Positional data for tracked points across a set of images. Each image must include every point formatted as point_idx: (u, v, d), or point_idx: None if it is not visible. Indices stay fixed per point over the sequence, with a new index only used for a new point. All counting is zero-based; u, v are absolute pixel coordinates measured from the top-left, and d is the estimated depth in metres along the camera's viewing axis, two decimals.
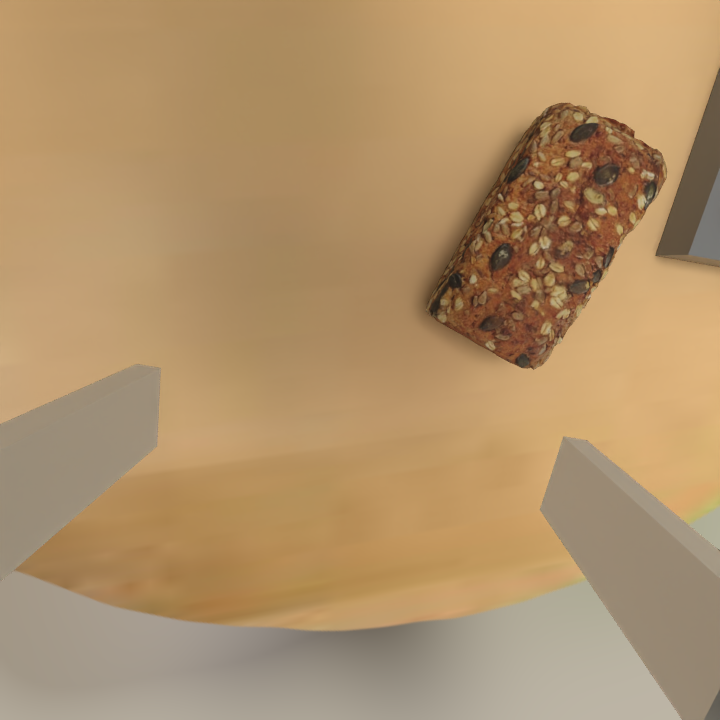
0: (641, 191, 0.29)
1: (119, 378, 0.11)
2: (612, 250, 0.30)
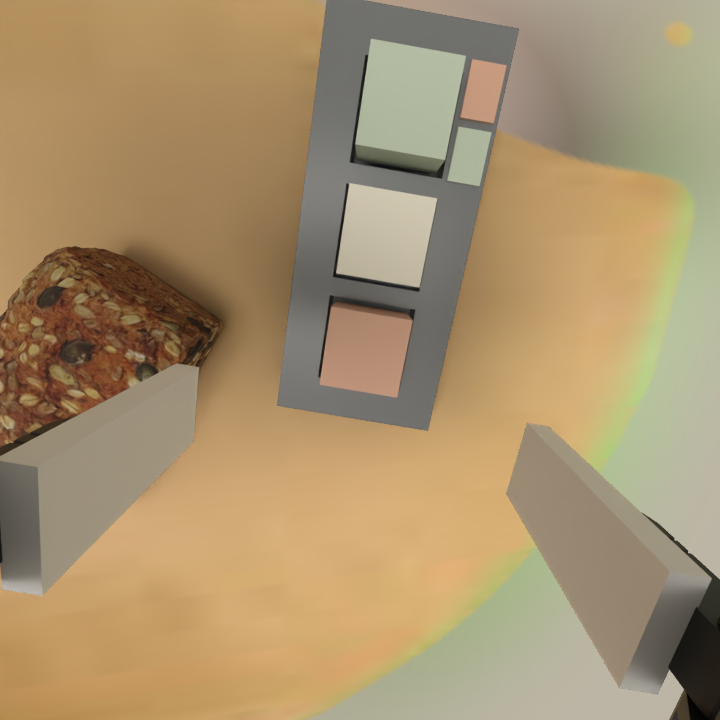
0: (133, 372, 0.23)
1: (164, 376, 0.12)
2: None
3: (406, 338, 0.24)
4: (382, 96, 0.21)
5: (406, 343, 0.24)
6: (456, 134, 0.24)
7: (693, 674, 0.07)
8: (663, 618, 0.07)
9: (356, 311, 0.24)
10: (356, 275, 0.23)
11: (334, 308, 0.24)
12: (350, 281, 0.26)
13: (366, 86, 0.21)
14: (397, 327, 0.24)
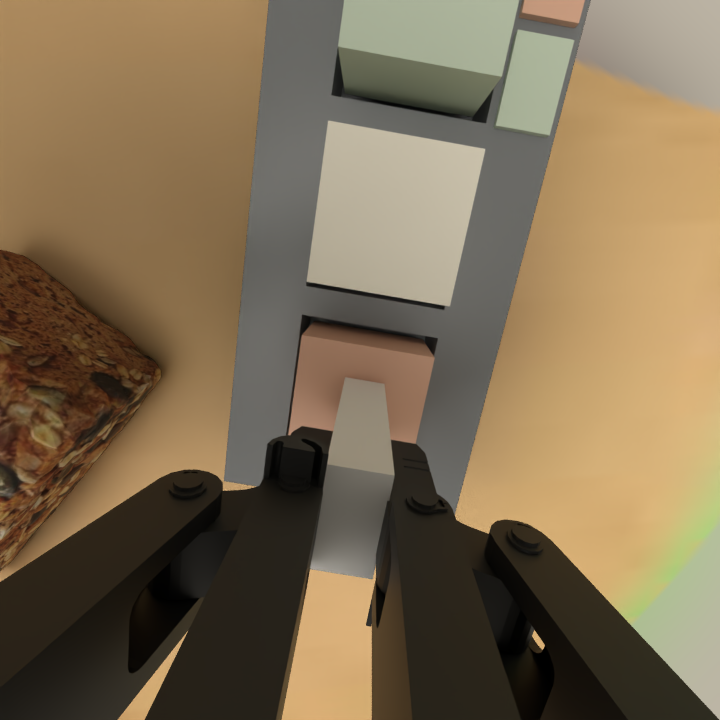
0: None
1: (351, 390, 0.13)
2: None
3: (424, 385, 0.15)
4: None
5: (424, 393, 0.15)
6: (514, 43, 0.14)
7: (377, 566, 0.08)
8: (363, 511, 0.09)
9: (343, 342, 0.15)
10: (341, 285, 0.14)
11: (307, 337, 0.15)
12: (334, 293, 0.16)
13: None
14: (410, 368, 0.15)
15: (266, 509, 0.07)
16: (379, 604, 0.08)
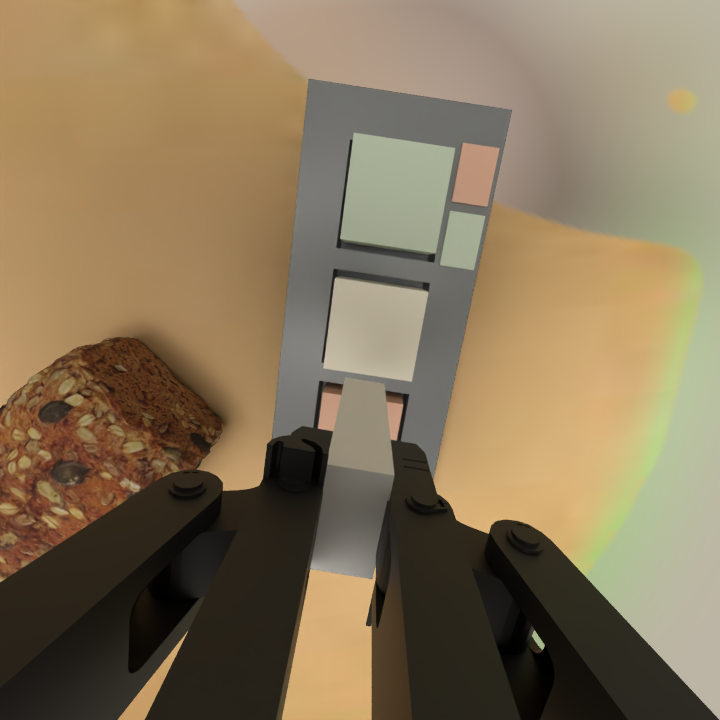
0: (124, 499, 0.22)
1: (351, 390, 0.13)
2: None
3: (397, 421, 0.25)
4: (367, 190, 0.20)
5: (397, 425, 0.25)
6: (448, 218, 0.22)
7: (377, 566, 0.08)
8: (363, 511, 0.09)
9: None
10: (344, 370, 0.22)
11: (326, 393, 0.24)
12: None
13: (350, 180, 0.20)
14: (388, 410, 0.24)
15: (266, 509, 0.07)
16: (379, 604, 0.08)
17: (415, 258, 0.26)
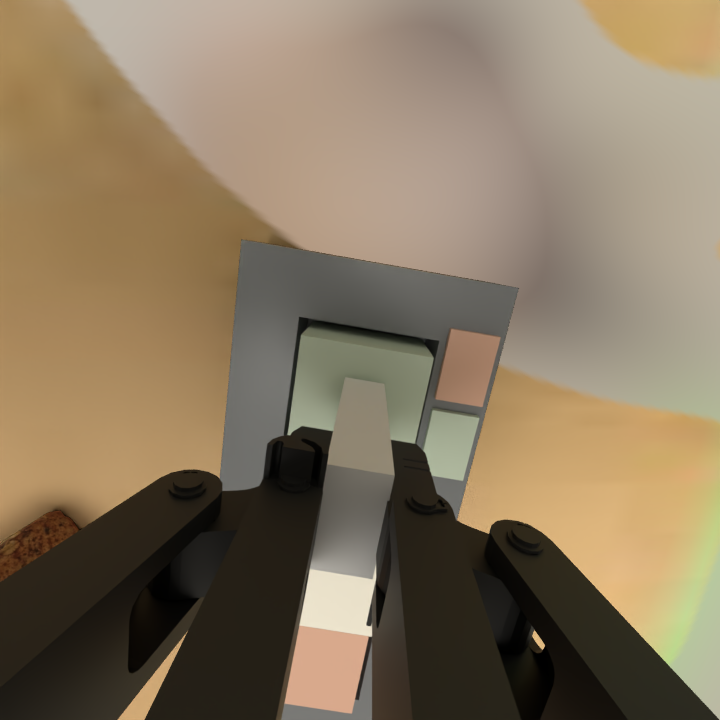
0: None
1: (351, 390, 0.13)
2: None
3: (361, 654, 0.19)
4: (319, 402, 0.15)
5: (361, 659, 0.19)
6: (430, 418, 0.17)
7: (377, 566, 0.08)
8: (364, 511, 0.09)
9: None
10: None
11: None
12: None
13: (297, 391, 0.15)
14: (349, 642, 0.19)
15: (266, 509, 0.07)
16: (379, 604, 0.08)
17: None
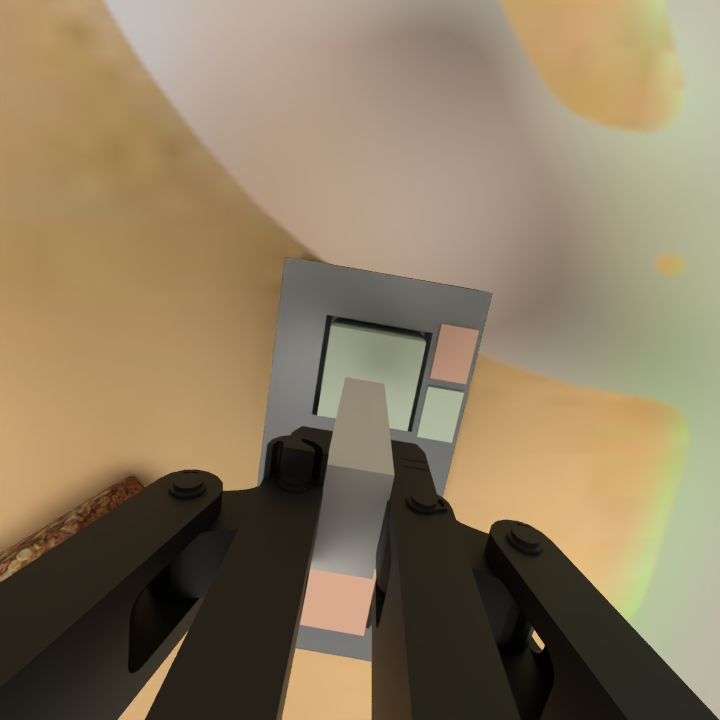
0: None
1: (351, 390, 0.13)
2: None
3: (372, 584, 0.24)
4: (343, 375, 0.21)
5: (372, 588, 0.24)
6: (426, 393, 0.22)
7: (377, 566, 0.08)
8: (363, 511, 0.09)
9: None
10: None
11: None
12: None
13: (327, 366, 0.21)
14: None
15: (266, 509, 0.07)
16: (379, 604, 0.08)
17: None
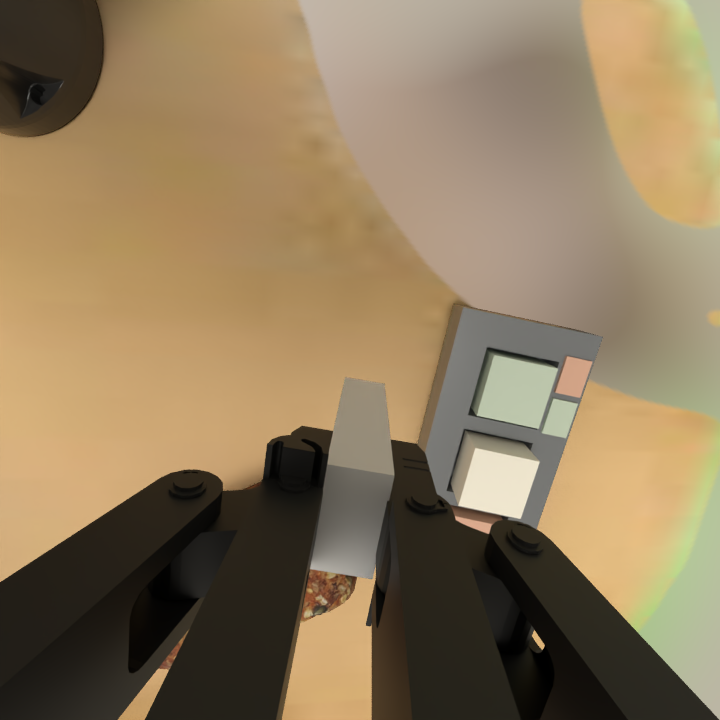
0: (312, 607, 0.31)
1: (351, 390, 0.13)
2: None
3: None
4: (498, 388, 0.31)
5: None
6: (551, 403, 0.32)
7: (377, 566, 0.08)
8: (364, 511, 0.09)
9: (465, 518, 0.33)
10: (473, 508, 0.31)
11: None
12: None
13: (488, 382, 0.31)
14: None
15: (266, 509, 0.07)
16: (379, 604, 0.08)
17: None
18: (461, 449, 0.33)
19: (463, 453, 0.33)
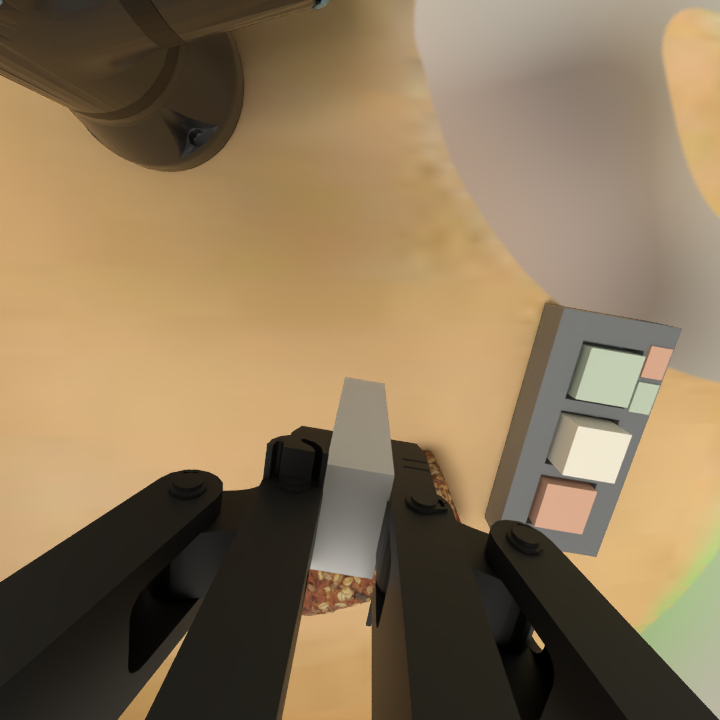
0: None
1: (351, 390, 0.13)
2: None
3: (592, 501, 0.40)
4: (594, 375, 0.36)
5: (591, 504, 0.40)
6: (637, 385, 0.37)
7: (377, 566, 0.08)
8: (363, 511, 0.09)
9: (562, 485, 0.39)
10: (575, 476, 0.37)
11: (549, 484, 0.39)
12: None
13: (586, 370, 0.36)
14: (587, 495, 0.39)
15: (266, 509, 0.07)
16: (379, 604, 0.08)
17: None
18: (556, 428, 0.39)
19: (561, 431, 0.38)
